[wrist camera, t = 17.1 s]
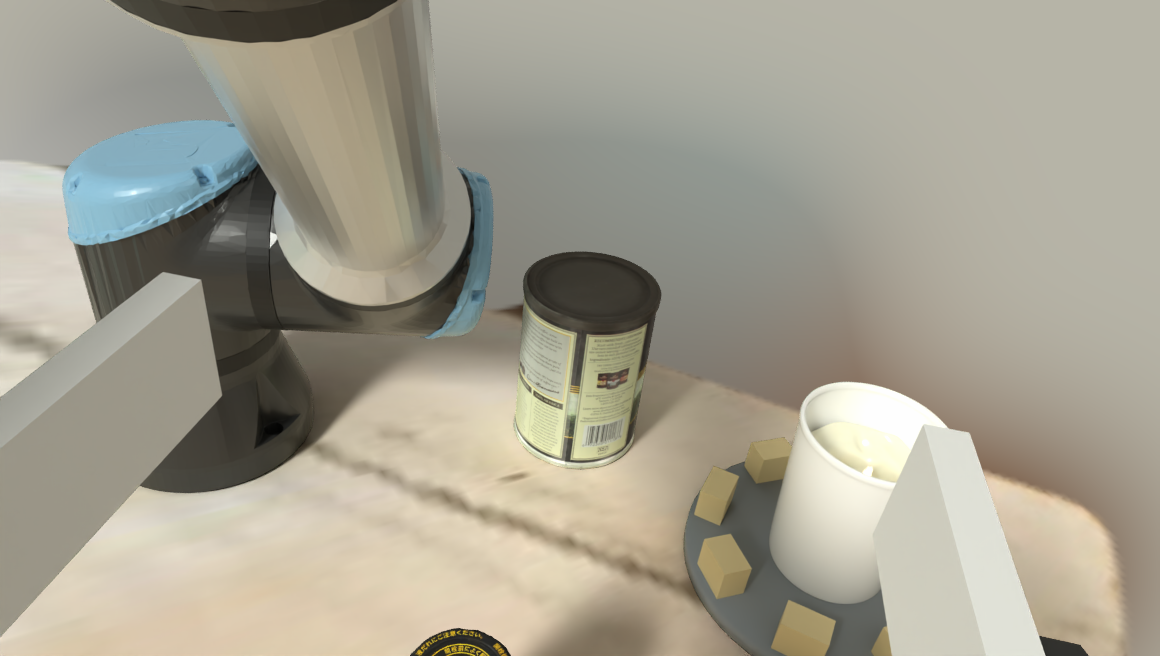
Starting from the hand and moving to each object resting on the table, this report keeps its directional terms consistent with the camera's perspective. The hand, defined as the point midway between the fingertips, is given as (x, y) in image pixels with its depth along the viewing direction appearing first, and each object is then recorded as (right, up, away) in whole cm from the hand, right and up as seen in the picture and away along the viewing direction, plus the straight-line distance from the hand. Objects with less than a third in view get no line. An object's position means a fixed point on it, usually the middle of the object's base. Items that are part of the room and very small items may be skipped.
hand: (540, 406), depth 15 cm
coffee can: (0, -7, +53) cm, 53 cm away
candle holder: (+18, -15, +42) cm, 48 cm away
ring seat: (+18, -16, +43) cm, 49 cm away
